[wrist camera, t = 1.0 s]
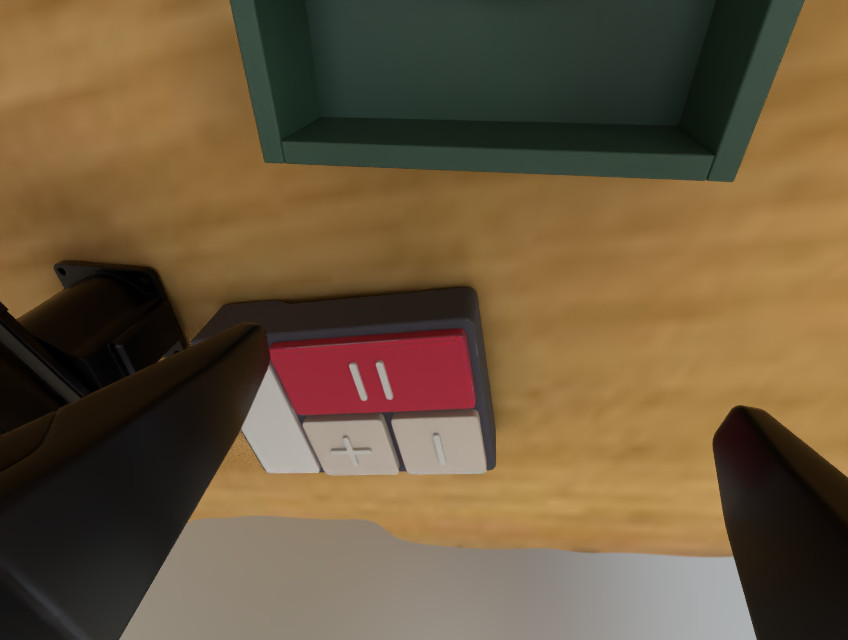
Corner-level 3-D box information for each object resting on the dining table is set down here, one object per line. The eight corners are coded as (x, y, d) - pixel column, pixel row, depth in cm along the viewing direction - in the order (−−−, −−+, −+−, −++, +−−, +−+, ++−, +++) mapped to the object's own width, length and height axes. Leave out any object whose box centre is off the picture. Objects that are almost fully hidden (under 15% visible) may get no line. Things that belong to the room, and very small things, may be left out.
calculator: (497, 482, 26) (260, 484, 29) (496, 425, 29) (285, 432, 32) (474, 327, 20) (177, 350, 23) (476, 278, 23) (219, 304, 26)
